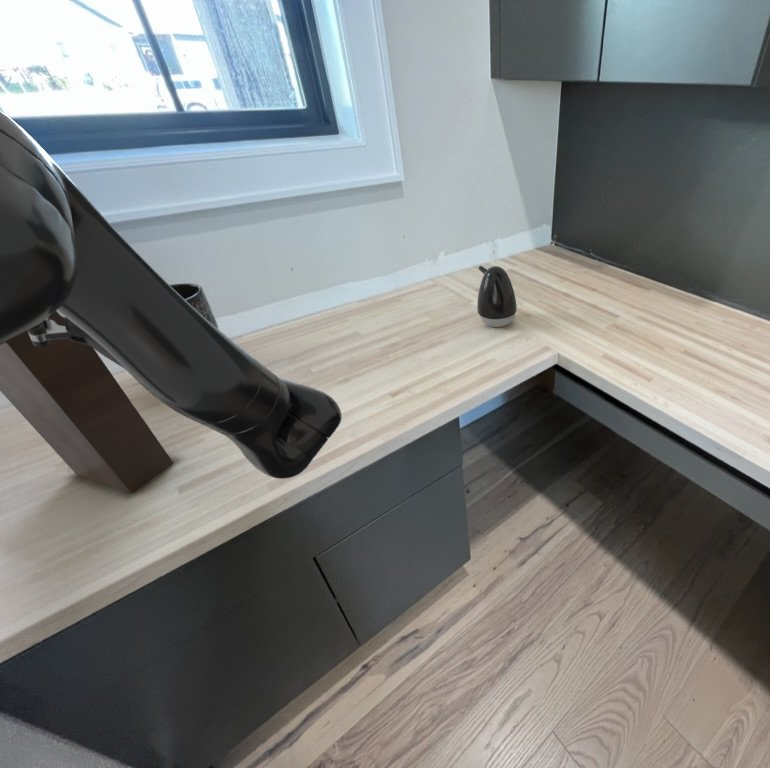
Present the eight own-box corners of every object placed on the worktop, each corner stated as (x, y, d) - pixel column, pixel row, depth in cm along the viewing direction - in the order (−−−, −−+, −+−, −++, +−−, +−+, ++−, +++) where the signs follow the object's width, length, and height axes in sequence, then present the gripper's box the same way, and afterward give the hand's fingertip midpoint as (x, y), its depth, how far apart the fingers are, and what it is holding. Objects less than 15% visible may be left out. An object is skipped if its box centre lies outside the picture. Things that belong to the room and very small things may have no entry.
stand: (68, 479, 68) (-89, 311, 51) (124, 442, 75) (3, 284, 58) (127, 499, 65) (-20, 326, 47) (181, 459, 72) (70, 295, 54)
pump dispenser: (495, 310, 117) (492, 256, 108) (524, 320, 111) (524, 264, 102) (469, 324, 110) (464, 268, 101) (500, 335, 105) (497, 277, 96)
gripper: (219, 300, 49) (88, 217, 48) (93, 360, 39) (-78, 254, 38) (219, 344, 54) (100, 269, 53) (106, 408, 43) (-45, 315, 42)
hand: (26, 263), depth 45 cm, fingers closed
